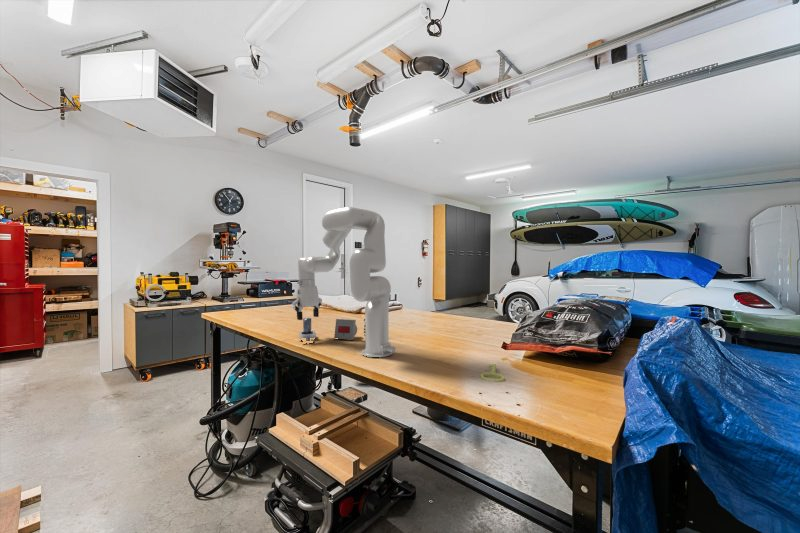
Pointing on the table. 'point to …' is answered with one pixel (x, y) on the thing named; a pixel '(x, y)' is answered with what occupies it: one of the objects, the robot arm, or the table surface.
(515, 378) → the table surface
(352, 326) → the voltmeter
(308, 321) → the pin
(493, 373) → the key
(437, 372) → the table surface
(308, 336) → the chain ends
